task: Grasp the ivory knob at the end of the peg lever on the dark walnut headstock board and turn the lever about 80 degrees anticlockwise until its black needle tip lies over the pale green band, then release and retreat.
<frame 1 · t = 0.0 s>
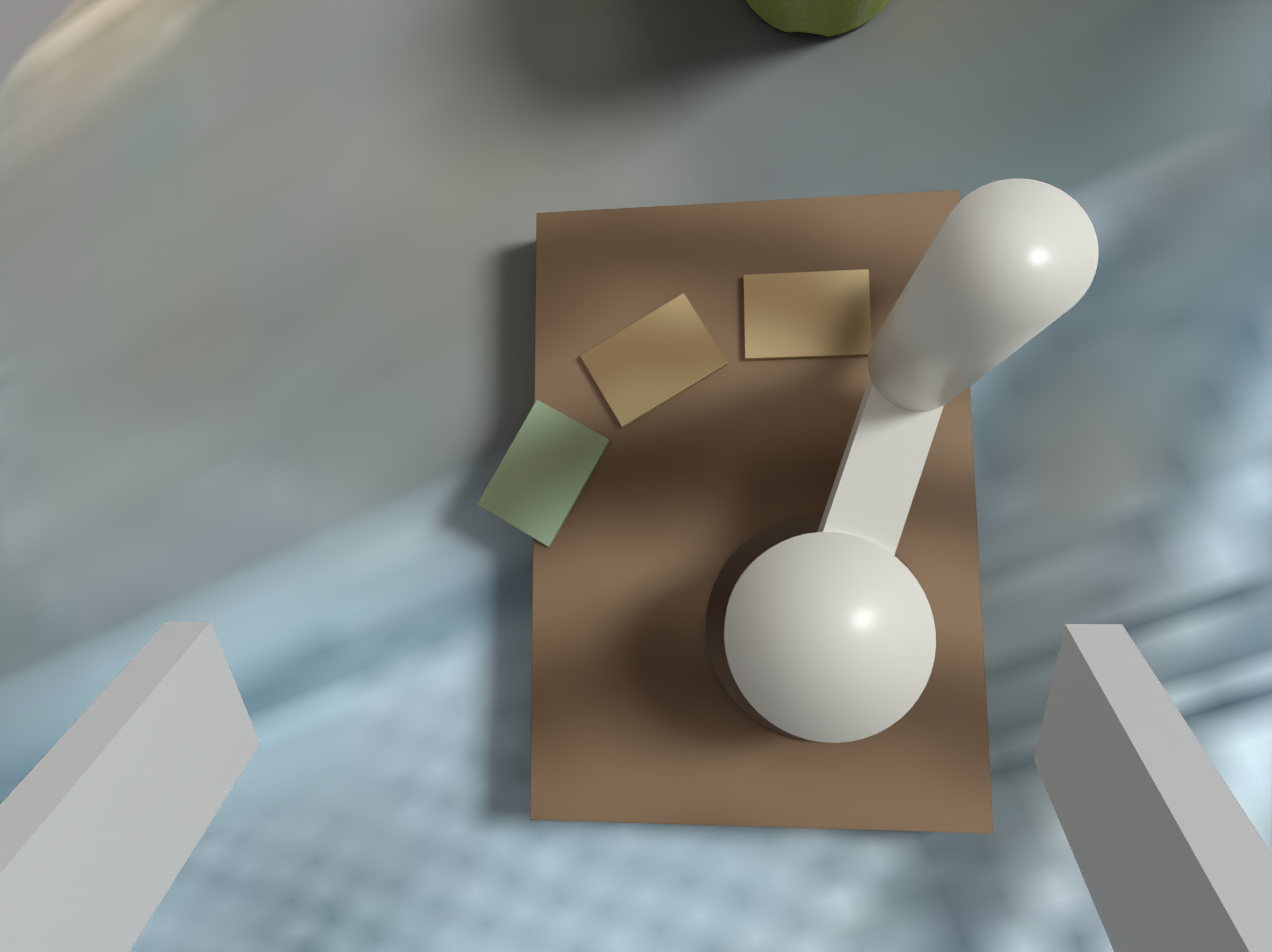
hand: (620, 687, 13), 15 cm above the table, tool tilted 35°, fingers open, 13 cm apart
headstock board: (746, 505, 28), on the table
peg: (898, 464, 20), point 8 cm above the table, hinge at 0.0°
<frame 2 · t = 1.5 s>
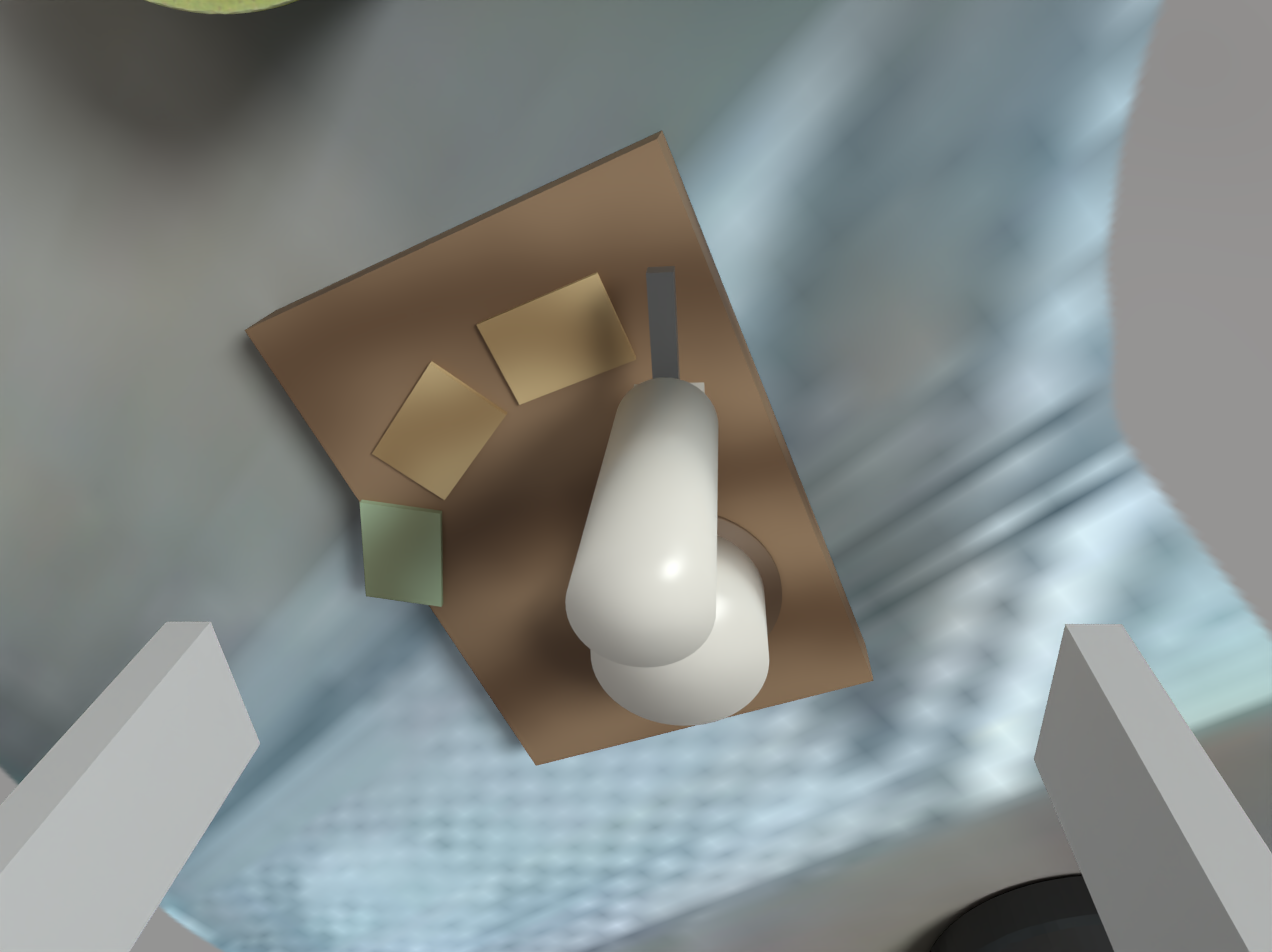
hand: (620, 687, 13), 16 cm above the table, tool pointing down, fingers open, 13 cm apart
headstock board: (591, 489, 30), on the table
peg: (667, 582, 22), point 8 cm above the table, hinge at 0.0°
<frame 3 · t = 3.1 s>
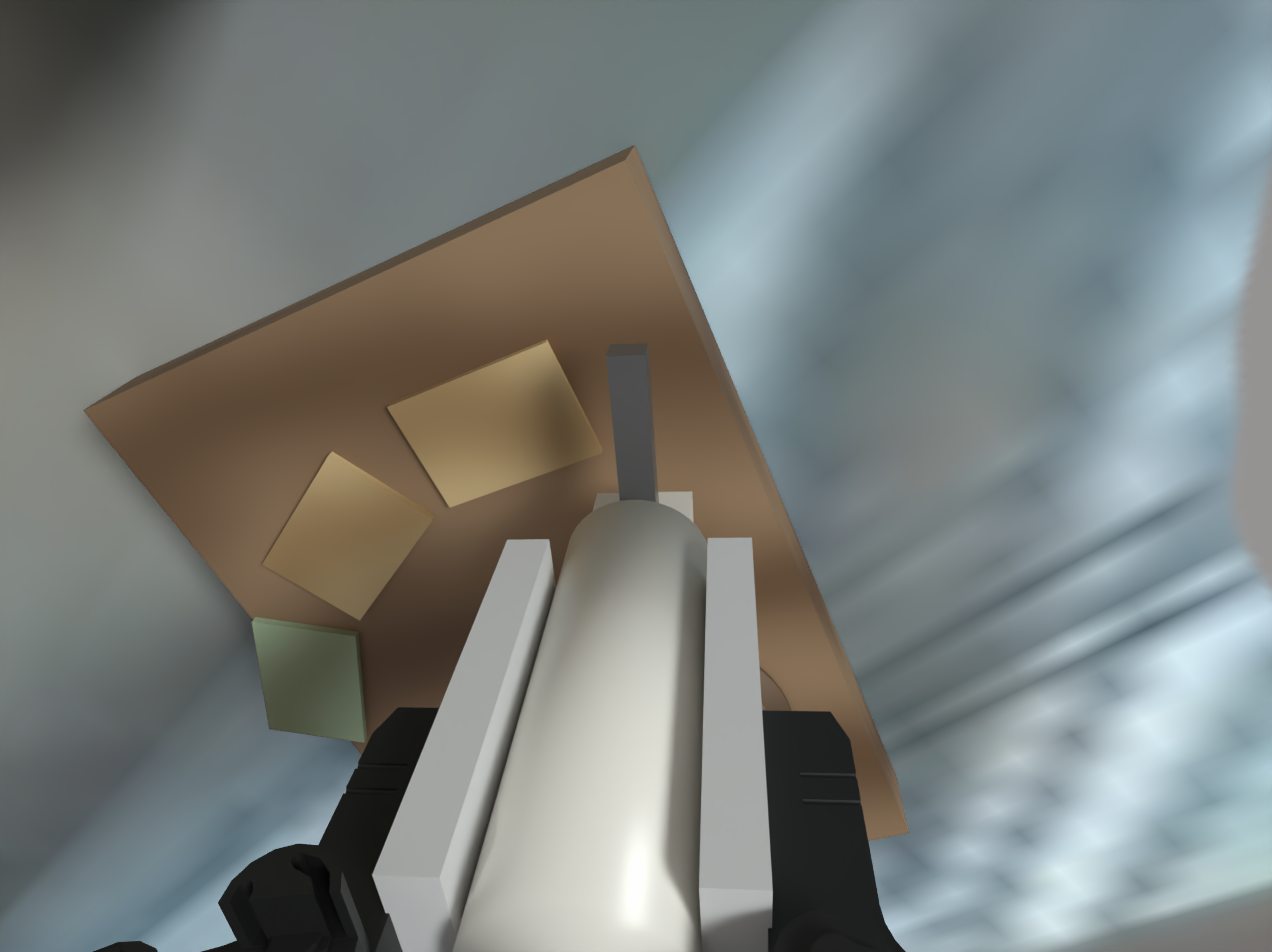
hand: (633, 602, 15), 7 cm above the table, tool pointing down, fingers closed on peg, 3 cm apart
headstock board: (553, 596, 23), on the table
peg: (640, 785, 15), point 8 cm above the table, hinge at 0.1°, touching gripper
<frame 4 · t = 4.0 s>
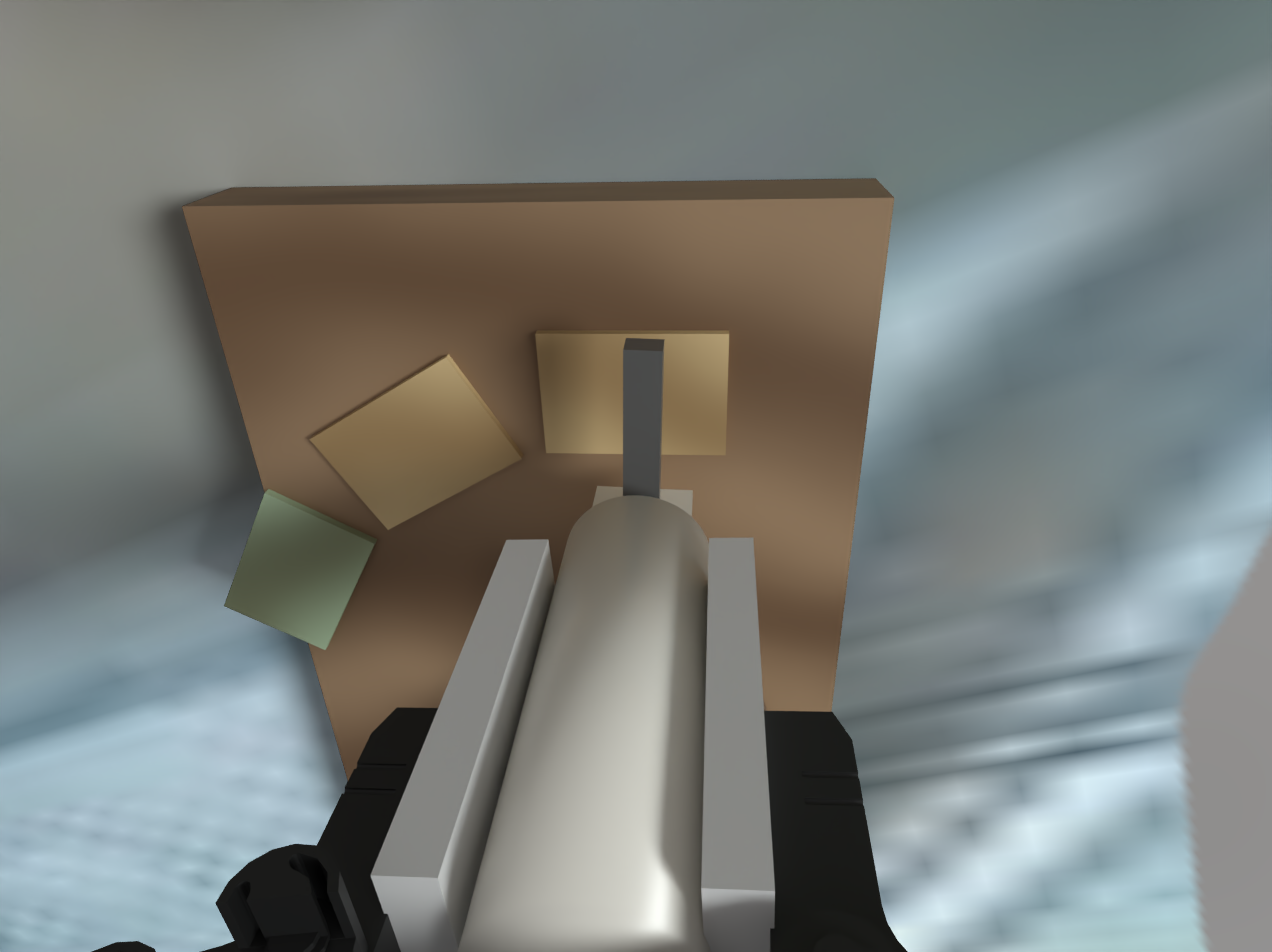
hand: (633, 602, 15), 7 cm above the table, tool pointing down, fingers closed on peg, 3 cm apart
headstock board: (573, 563, 23), on the table
peg: (626, 781, 15), point 8 cm above the table, hinge at 18.0°, touching gripper
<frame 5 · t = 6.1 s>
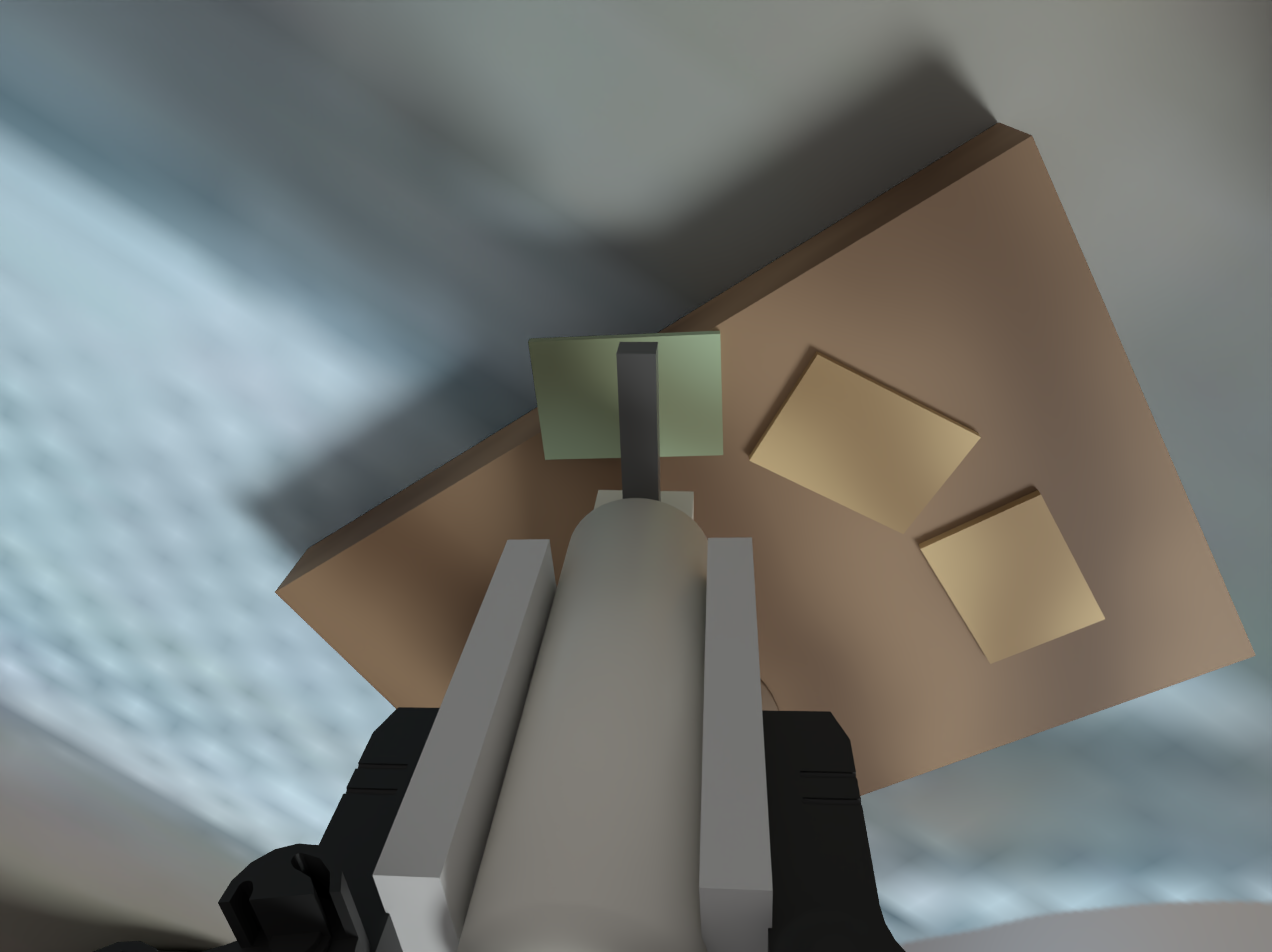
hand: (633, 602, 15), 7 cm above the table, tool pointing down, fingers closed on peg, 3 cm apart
headstock board: (743, 575, 22), on the table
peg: (634, 784, 15), point 8 cm above the table, hinge at 77.5°, touching gripper
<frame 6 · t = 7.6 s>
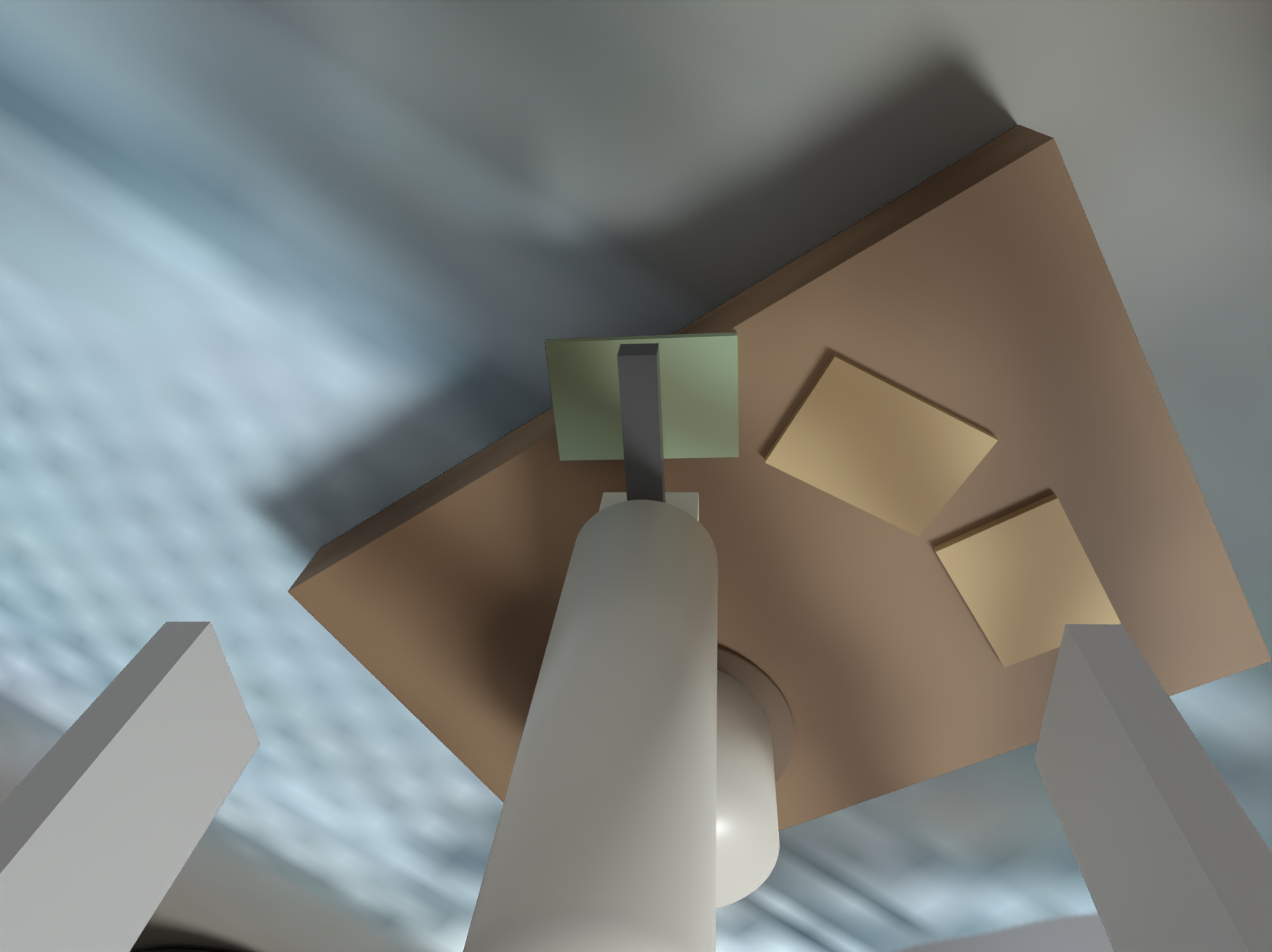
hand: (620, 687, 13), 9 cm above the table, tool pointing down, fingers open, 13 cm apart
headstock board: (756, 577, 22), on the table
peg: (643, 786, 15), point 8 cm above the table, hinge at 79.0°
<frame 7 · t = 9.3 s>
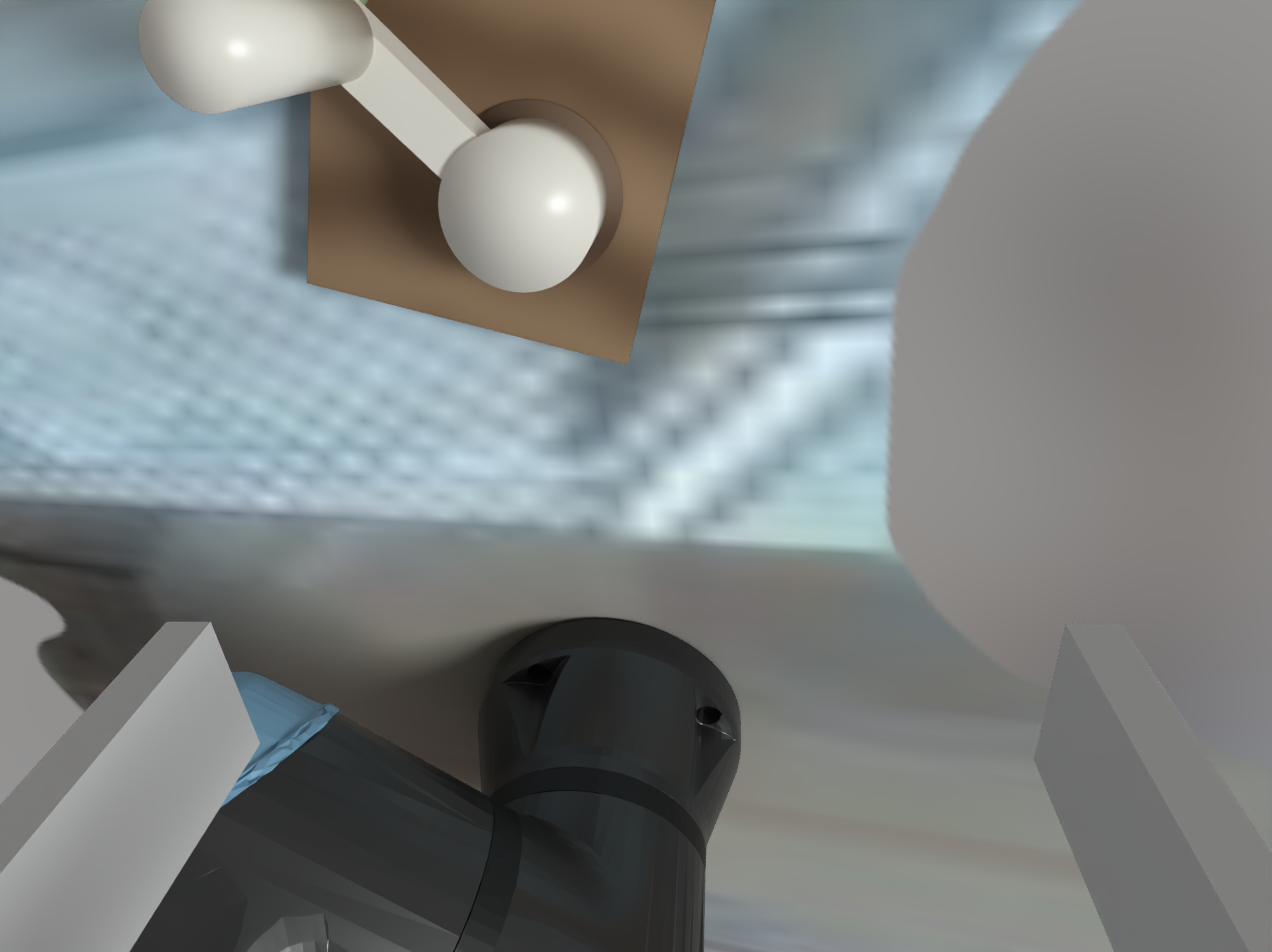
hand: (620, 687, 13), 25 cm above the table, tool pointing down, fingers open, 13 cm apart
headstock board: (512, 66, 32), on the table
peg: (388, 125, 26), point 8 cm above the table, hinge at 79.0°
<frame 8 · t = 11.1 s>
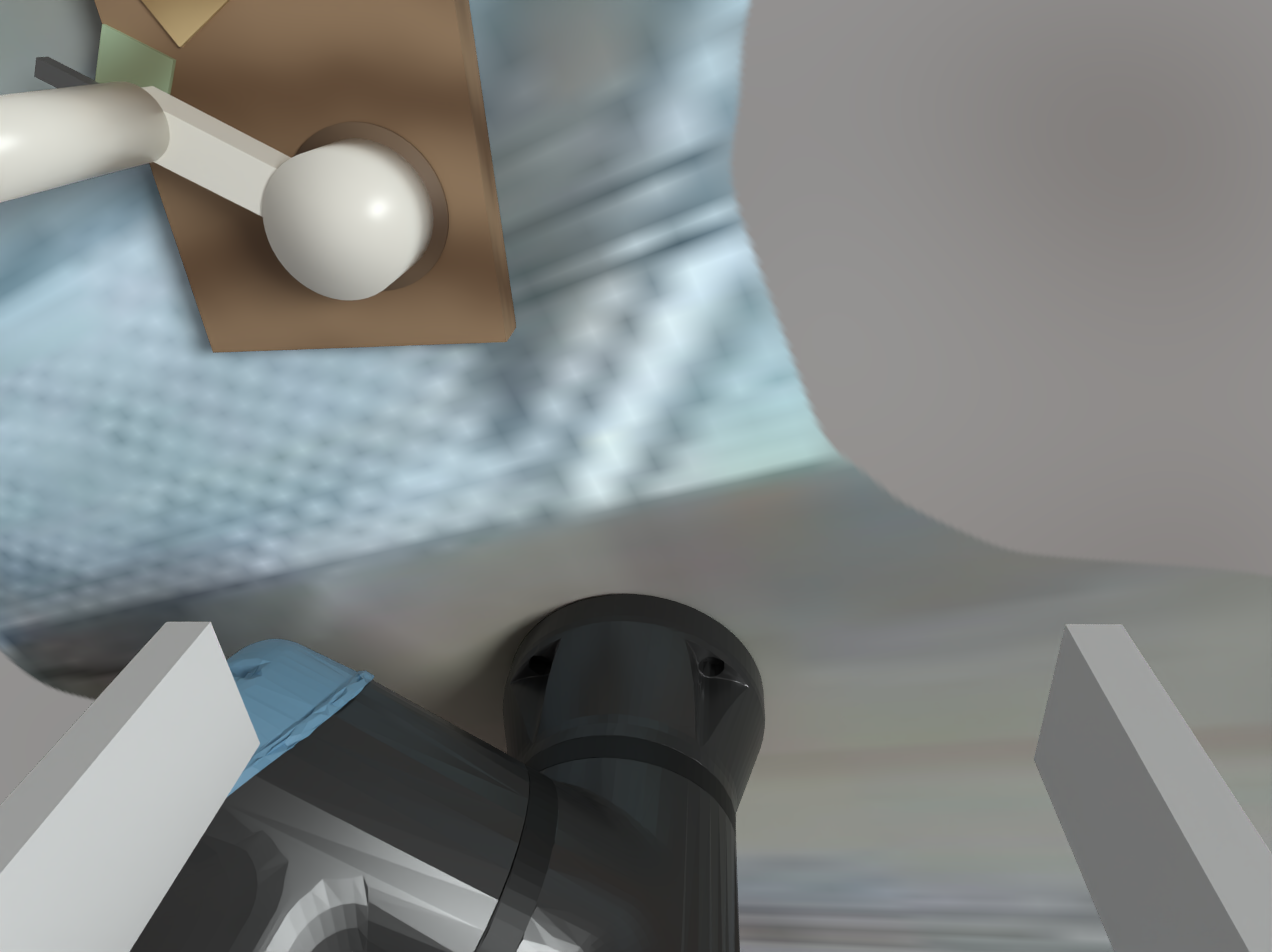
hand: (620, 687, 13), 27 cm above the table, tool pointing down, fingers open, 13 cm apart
headstock board: (319, 103, 34), on the table
peg: (184, 180, 29), point 8 cm above the table, hinge at 79.0°
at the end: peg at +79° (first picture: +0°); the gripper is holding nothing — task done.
